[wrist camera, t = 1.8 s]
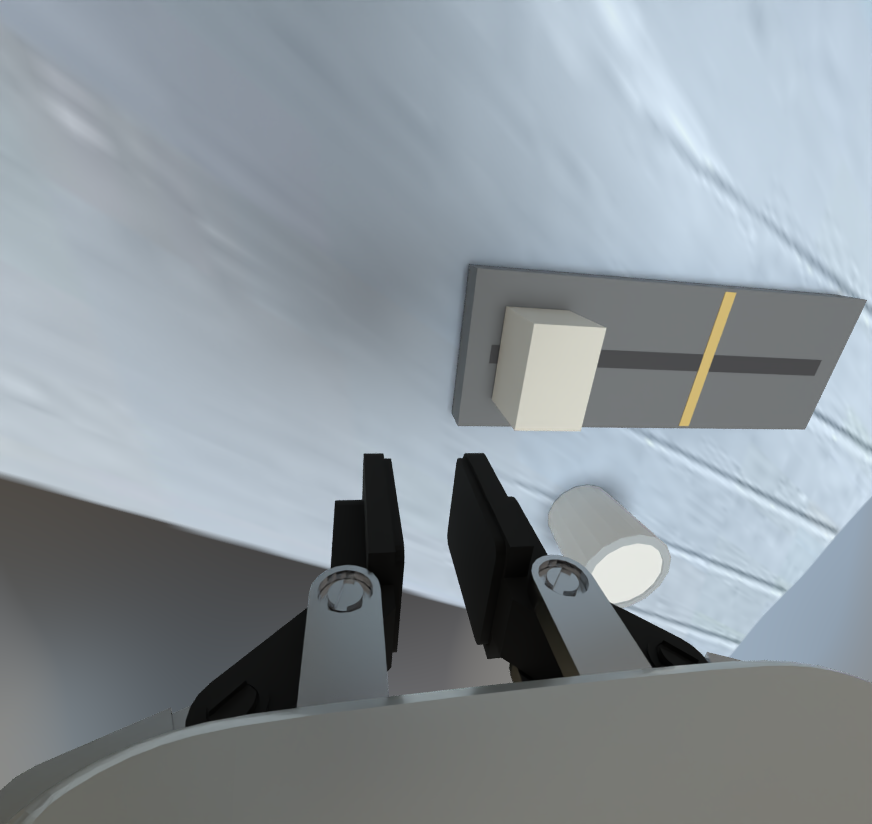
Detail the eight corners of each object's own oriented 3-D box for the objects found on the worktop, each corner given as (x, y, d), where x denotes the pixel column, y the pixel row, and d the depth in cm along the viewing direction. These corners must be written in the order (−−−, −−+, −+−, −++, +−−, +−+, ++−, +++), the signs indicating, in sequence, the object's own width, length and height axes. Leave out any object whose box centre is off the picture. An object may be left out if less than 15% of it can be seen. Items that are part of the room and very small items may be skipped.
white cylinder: (571, 467, 35) (619, 523, 28) (633, 493, 37) (691, 551, 31) (525, 532, 37) (560, 599, 30) (587, 554, 39) (632, 620, 33)
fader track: (451, 413, 31) (458, 426, 29) (469, 264, 27) (477, 268, 25) (782, 418, 36) (805, 429, 34) (838, 295, 32) (867, 300, 30)
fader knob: (491, 399, 28) (514, 430, 24) (506, 306, 26) (534, 323, 22) (549, 400, 29) (580, 431, 25) (568, 310, 27) (606, 328, 23)
